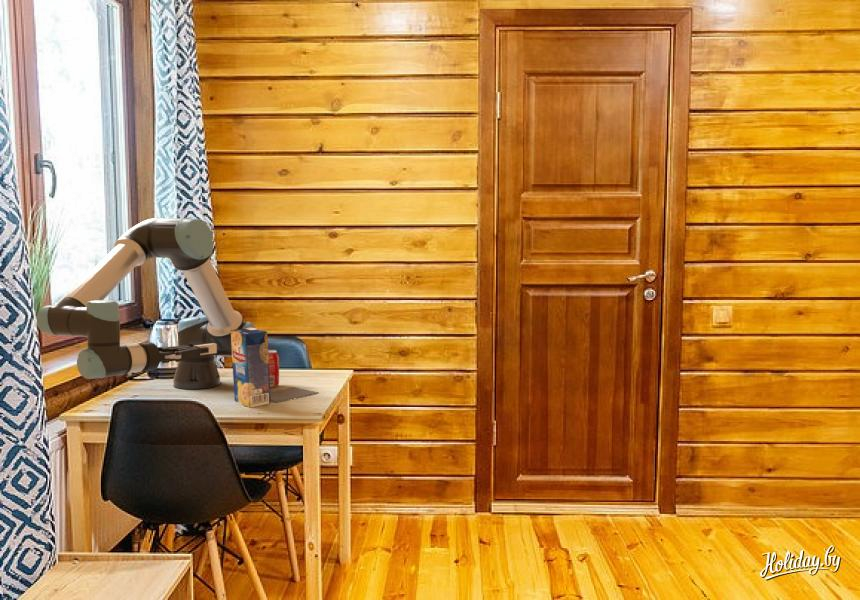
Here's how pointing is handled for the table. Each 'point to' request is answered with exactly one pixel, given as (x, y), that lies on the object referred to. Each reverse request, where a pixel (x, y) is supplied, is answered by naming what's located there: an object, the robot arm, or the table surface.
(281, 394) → the mat
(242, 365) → the cardboard food box
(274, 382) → the soda can
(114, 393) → the table surface
